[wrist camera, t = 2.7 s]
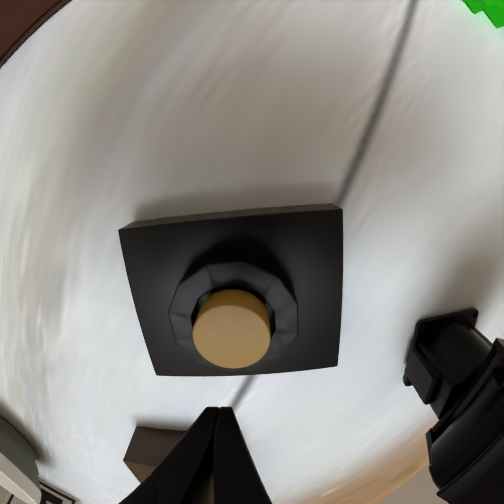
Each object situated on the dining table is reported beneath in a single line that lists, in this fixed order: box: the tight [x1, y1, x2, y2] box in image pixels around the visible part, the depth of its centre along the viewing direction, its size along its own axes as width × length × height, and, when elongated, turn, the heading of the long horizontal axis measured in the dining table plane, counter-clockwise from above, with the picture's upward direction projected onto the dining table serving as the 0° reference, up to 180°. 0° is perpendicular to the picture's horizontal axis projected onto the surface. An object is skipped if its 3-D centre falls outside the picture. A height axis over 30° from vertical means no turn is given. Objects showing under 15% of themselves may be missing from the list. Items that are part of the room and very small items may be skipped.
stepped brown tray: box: [123, 427, 187, 483], centre depth 23 cm, size 9×20×4 cm, turn 5°
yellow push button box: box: [118, 204, 343, 376], centre depth 16 cm, size 12×10×4 cm
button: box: [193, 289, 271, 368], centre depth 14 cm, size 4×4×2 cm
